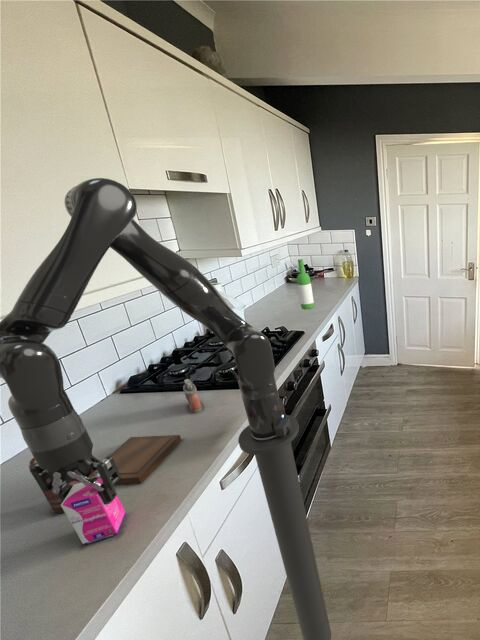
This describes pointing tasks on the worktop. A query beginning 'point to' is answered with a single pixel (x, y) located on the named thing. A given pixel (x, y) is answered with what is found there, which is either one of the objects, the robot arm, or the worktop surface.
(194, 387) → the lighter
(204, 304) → the robot arm
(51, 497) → the can
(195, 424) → the worktop surface
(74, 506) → the supplement box
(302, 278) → the wine bottle
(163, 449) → the board
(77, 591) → the worktop surface
